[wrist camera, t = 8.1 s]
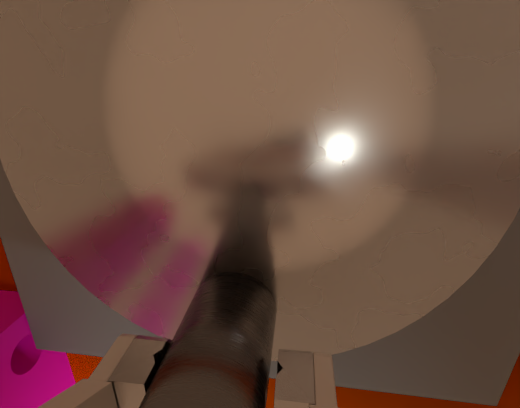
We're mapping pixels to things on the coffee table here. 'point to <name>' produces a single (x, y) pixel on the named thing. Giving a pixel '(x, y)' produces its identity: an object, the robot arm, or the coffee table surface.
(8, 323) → the toy block
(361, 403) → the coffee table surface
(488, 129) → the dial
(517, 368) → the coffee table surface
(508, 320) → the dial plate
